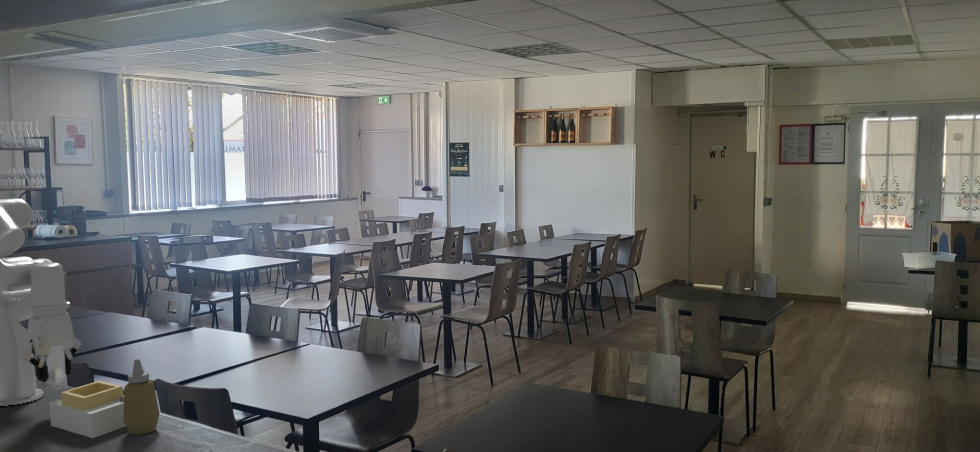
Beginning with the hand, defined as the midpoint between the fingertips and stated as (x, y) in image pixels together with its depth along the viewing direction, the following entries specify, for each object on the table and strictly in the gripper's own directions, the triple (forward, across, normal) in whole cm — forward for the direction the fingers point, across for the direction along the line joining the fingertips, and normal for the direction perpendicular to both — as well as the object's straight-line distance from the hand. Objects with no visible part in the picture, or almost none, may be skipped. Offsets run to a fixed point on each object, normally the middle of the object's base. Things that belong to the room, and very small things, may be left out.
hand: (54, 376), depth 195 cm
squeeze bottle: (+9, -2, +33) cm, 35 cm away
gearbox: (+9, 0, +17) cm, 20 cm away
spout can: (+3, 0, 0) cm, 3 cm away
